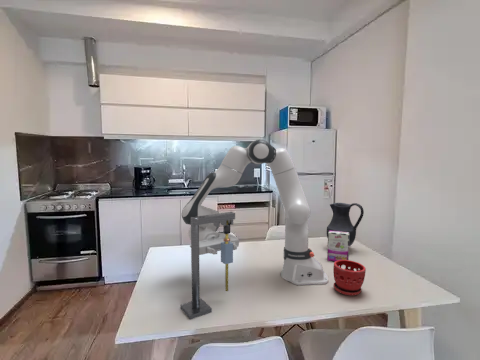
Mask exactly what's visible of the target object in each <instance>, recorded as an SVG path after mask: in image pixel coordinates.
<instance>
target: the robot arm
mask: <svg viewBox="0 0 480 360" xmlns="http://www.w3.org/2000/svg"><path fill="white" fill-rule="evenodd" d="M249 164H255V165H261V164H262V165H263V164H267V165H268V166H269V168H270V170H271V174H272V176H273V179H274V183H275V185H276V188H277V191H278V193H279V197H280V200H281V203H282V206H283V209H284V212H285V213H284V214H285V219H284V221H285V223H284V224H285V226H284V228H285V229H284V231H285V232H284V247H283V264H282V270H281V272H280V277H281V278H282V279H284V280H285V281H288V282H290V283H292V285H293V284H294V285H296V286H302V285H303V286H304V285H305V286H307V285H309V286H310V285H327V284H328V283H329V276H328V274H327V273H326V272H325V271H324V268H323V265H322V264H321V262H320V261H319V260H317V259H316V258H315V253H314V252H313V251H312V249H311V248H309V218H310V217H311V216H310V215H311V208H310V205H309V202H308V199H307V197H306V194H305V191H304V187H303V186H302V183H301V180H300V177H299V174H298V171H297V168H296V166H295V163H294V161H293V159H292V156H291V154H290V153H289V151H288V149H286V148H284V147H283V148H282V147H277V148H276V147H274V146H273V145H272V144H271V143H270V142H268V141H266V140H265V139H256V140H254V141H252V142H251V143H250V144H249V145H248V146H246V147H242V146H240V145H234V146H232V147H230V148H229V150H228V151H227V153H226V155H225V156H224V158H223V159H222V161H221V163H220V165H219V167H218V168H217V169H216V170H215V171H214V172H210V173H209V174H208V175H206V177H205V179H203V181H202V183H201V184H200V185H199V187H198V189H197V190H196V191H195V193H194V194H193V196H192V197H191V199H190V200H189V201H188V202H186V204H185V205H184V207H183V209H182V211H181V218H182V220H183V222H184V223H185V224H186V225H189V226H190V228H189V229H188V233H187V234H188V237H189V240H191V217H197V216H204V215H212V214H219V213H220V212H219V211H218V210H216V209H213V208H210V207H208V206H207V207H206V206H203V205H202V204H203V203H204V201H205V200H206V198H207V197H208V195H209V193H210V192H211V191H212V190H215V189H218V188H230V187H234V186H235V185H236V184H238V183H239V181H240V179H241V178H242V176H243V173H244V171H245V169H246V168H247V166H248V165H249ZM220 225H221V224H220V222H219V227H220ZM219 227H216V226H214V225H213V223H208V224H202V225H199V256H200V255H201V256H202V255H206V254H207V255H208V254H211V255H218V252H221V242H224V238H225V234H224V233H223V231H219ZM228 238H230V241H229V242H231V243H233V251H237V249H238V247H240V246H239V245H240V240H239V237H237V236H235V235H233V234H231V233H229V234H228ZM189 247H190V248H191V244H189Z"/></svg>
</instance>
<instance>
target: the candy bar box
mask: <svg viewBox="0 0 480 360" xmlns="http://www.w3.org/2000/svg"><path fill="white" fill-rule="evenodd" d="M349 252H350V247H349V232H340V231H329V232H328V238H327V259H326V260H327V261H328V262H333V263H334V262H335V261H337V260H349V258H350V256H349V254H350V253H349Z"/></svg>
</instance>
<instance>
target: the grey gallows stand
mask: <svg viewBox="0 0 480 360" xmlns="http://www.w3.org/2000/svg"><path fill="white" fill-rule="evenodd" d="M218 213H219V214H212V215H204V216H197V217H191V225H190V227H191V239H190V245H191V247H190V253H191V254H190V255H191V256H190V261H191V263H190V264H191V270H190V271H191V272H190V273H191V301H188V302H184V303H181V304H180V307H179V308H180V310H181V311H182V312H183V314H185V315H186V317H187V318H188V319H189V320H193V319H195V318H200V317H201V316H204V315H207V314H210V313H212V312H213V308H212V307H211V306H210V305H209V304H208V303H207V302H206V301H205V300H203V298H201V296H200V295H201V292H200V291H201V290H200V281H201V280H200V279H201V278H200V255H199V225H202V224H208V223H213V225H214V226H216V227H220V225H221V226H223V227H222V229H223V233H224V234H225V238H224V242H225V244H228V242H229V241H230V238H228V234H231V225H234V220H236V213H235V212H233V211H227V212H218ZM219 222H220V225H219ZM224 265H225V266H224V268H225V270H224V271H225V272H224V273H225V278H224V279H225V281H224V282H225V290H224V291H225V292H229V264H224Z"/></svg>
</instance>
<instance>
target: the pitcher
mask: <svg viewBox="0 0 480 360" xmlns="http://www.w3.org/2000/svg"><path fill="white" fill-rule="evenodd" d="M353 206H356V207H358V208H359V210H360V215H359V217H358V218H357V221H356V222H355V224H354V225H353V223H352V221H351V218H350V211H351V208H352V207H353ZM329 207H330V208H331V211H332V213H333V215H332V216H331V220H330V222H329V224H328V225H327V226H326V238H327V239H328V232H329V231H340V232H349V248H350V247H351V246H352V245H353V244H354V242H355V240H356V236H357V229H358V226H359V224H360V223H361V221H362V220H363V218H364V217H363V216H364V207H363V206H362V205H361V204H359V203H355V202H354V203H345V202H334V203H331V204H329Z"/></svg>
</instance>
